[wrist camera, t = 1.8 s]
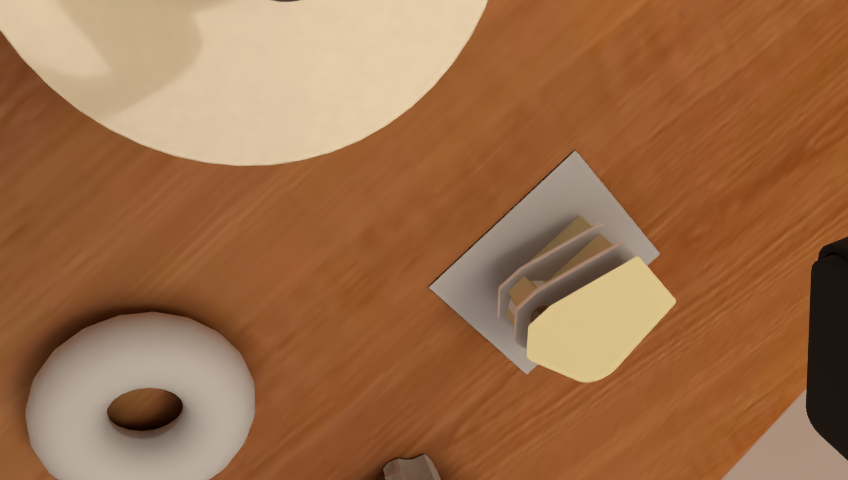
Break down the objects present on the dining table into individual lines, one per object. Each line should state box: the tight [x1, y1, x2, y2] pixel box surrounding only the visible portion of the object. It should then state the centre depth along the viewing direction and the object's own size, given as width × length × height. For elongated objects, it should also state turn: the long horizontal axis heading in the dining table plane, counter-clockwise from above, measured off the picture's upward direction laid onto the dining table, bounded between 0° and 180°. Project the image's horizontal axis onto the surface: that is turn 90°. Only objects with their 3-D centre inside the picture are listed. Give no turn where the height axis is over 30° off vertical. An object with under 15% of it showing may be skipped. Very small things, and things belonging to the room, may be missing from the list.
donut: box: [25, 312, 255, 480], centre depth 37 cm, size 10×4×10 cm
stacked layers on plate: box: [429, 150, 676, 382], centre depth 41 cm, size 10×9×6 cm
